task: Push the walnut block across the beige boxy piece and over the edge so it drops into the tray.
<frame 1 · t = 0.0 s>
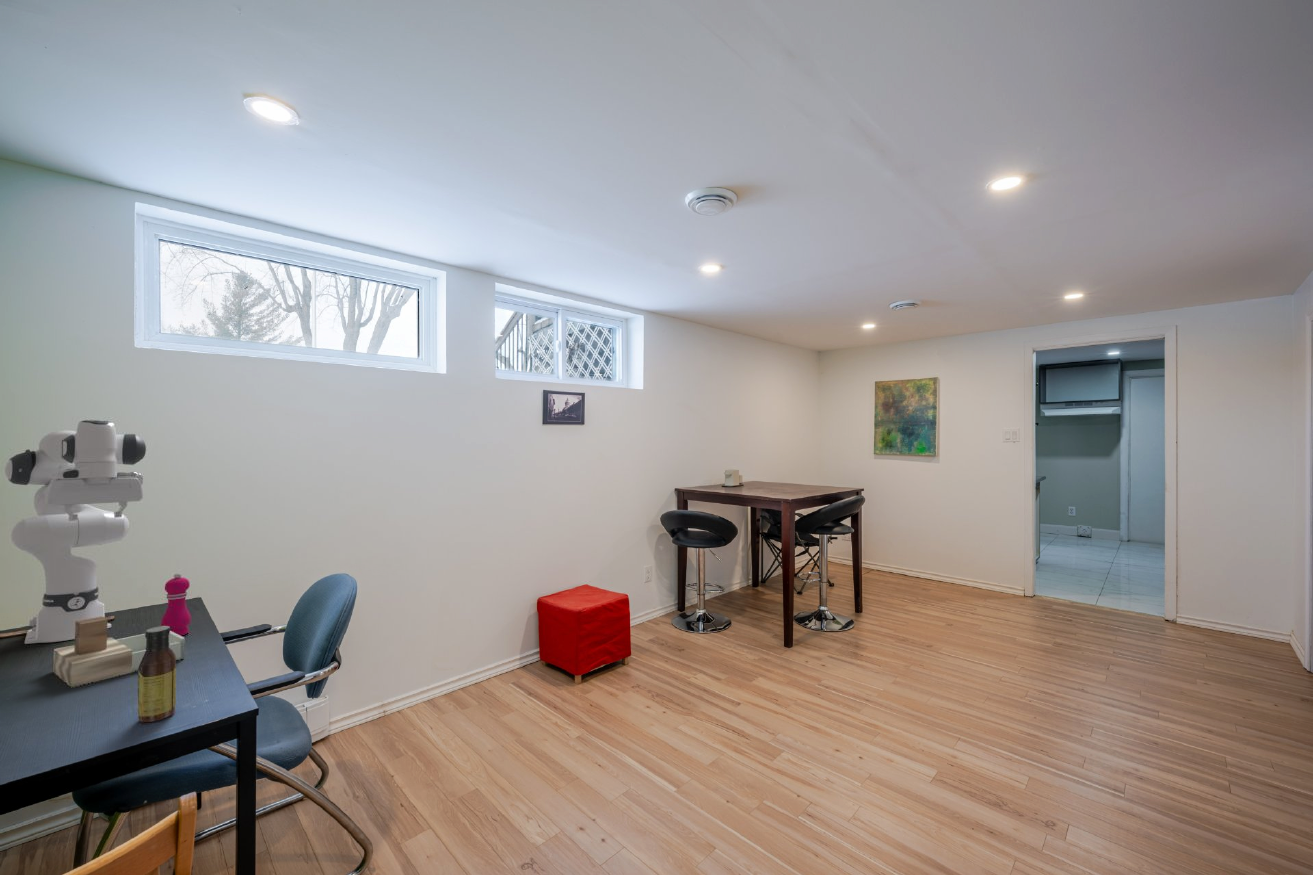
hand: (96, 519, 159), 39 cm above the table, tool pointing down, fingers open, 8 cm apart
walnut block: (90, 650, 142), point 6 cm above the table, touching beige boxy piece
sauce bottle: (156, 718, 118), on the table
tray: (147, 658, 151), on the table
beige boxy piece: (92, 672, 142), on the table
pepper mill: (175, 636, 171), on the table
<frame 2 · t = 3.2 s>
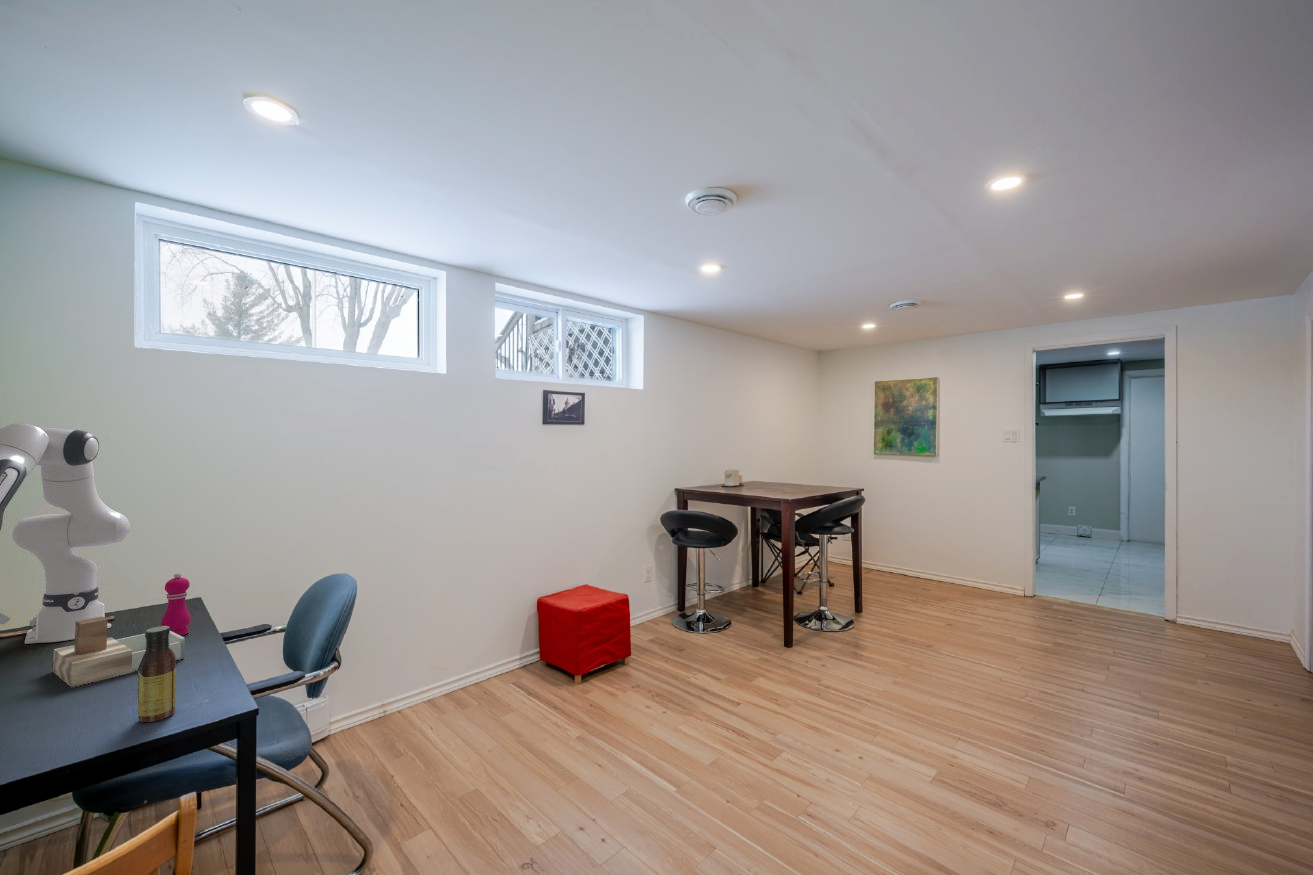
hand: (6, 621, 130), 18 cm above the table, tool tilted 45°, fingers closed
nothing on the table moved.
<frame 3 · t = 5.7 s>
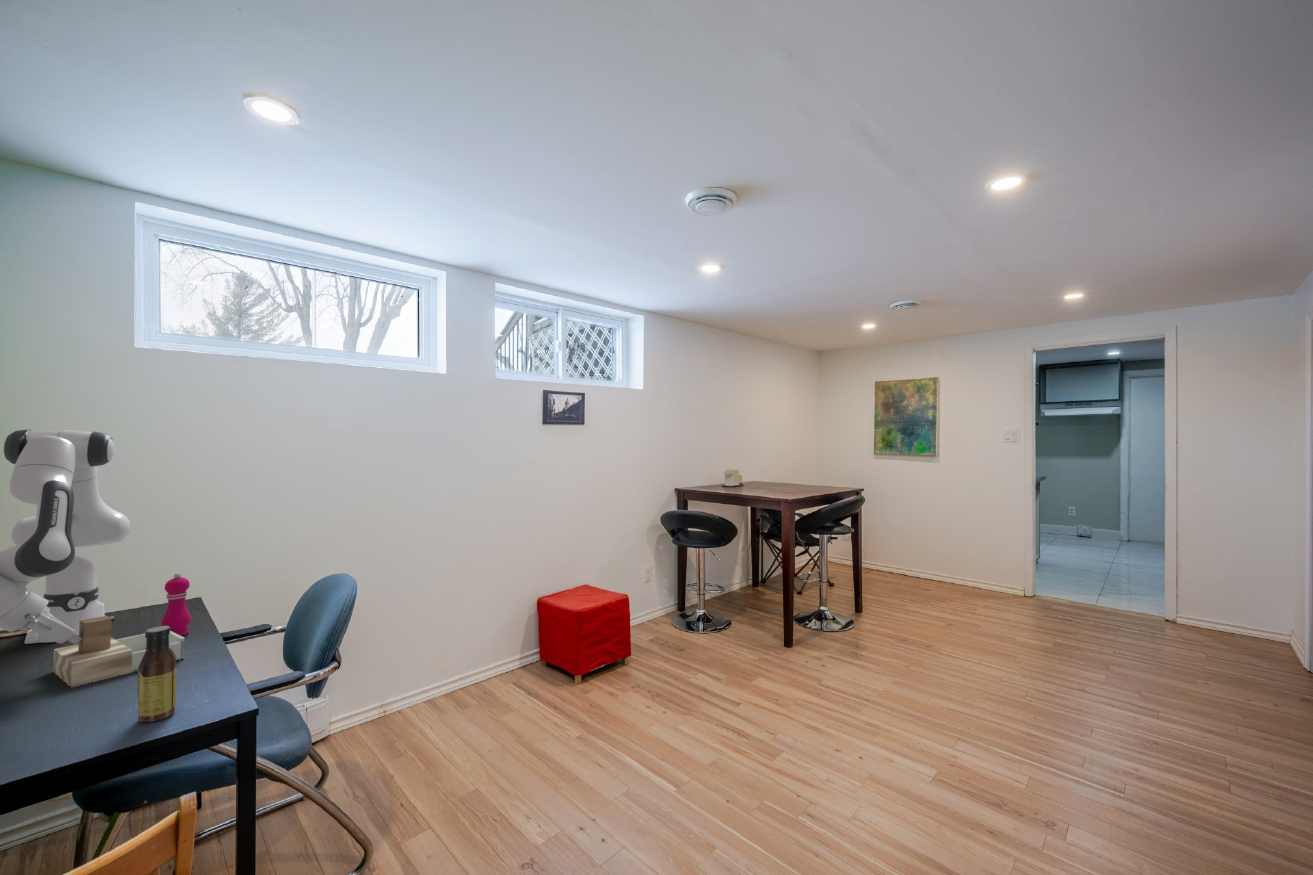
hand: (77, 640, 140), 9 cm above the table, tool tilted 45°, fingers closed, pressing on walnut block
walnut block: (94, 649, 142), point 6 cm above the table, touching gripper
everything else where it was.
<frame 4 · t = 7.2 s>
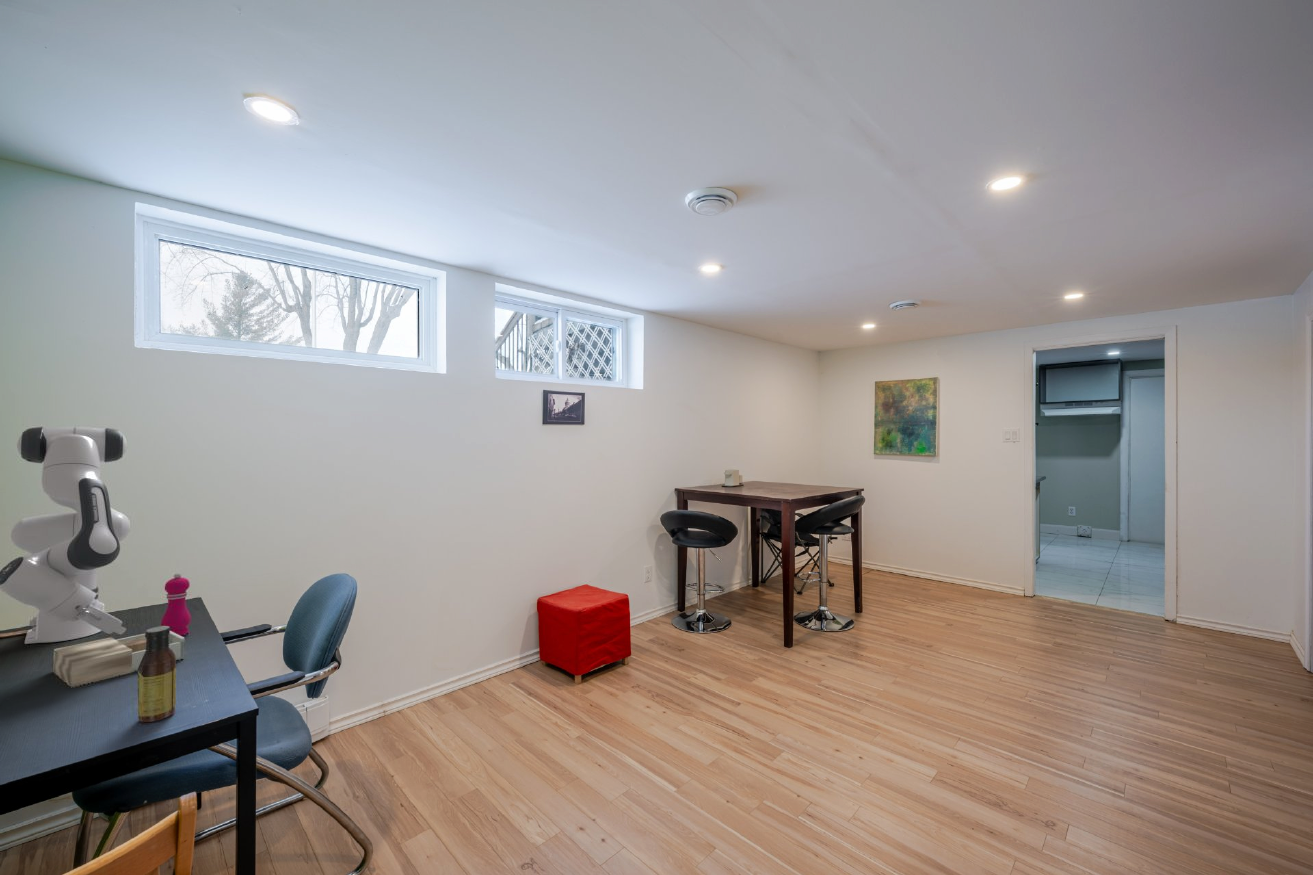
hand: (122, 631, 147), 9 cm above the table, tool tilted 45°, fingers closed
walnut block: (122, 653, 147), point 3 cm above the table, tilted 90°, touching tray
everything else where it was.
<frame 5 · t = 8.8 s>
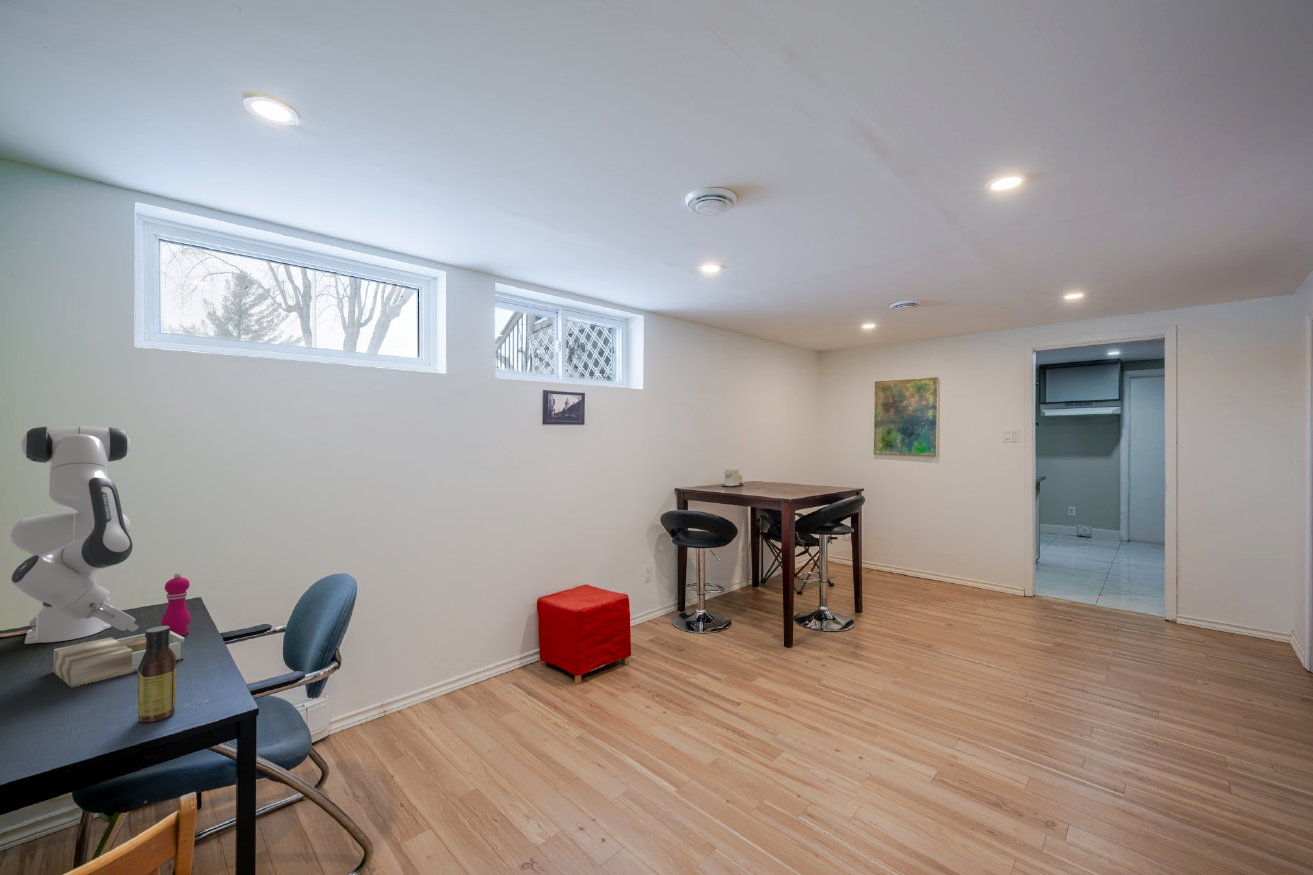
hand: (134, 628, 149), 9 cm above the table, tool tilted 45°, fingers closed
nothing on the table moved.
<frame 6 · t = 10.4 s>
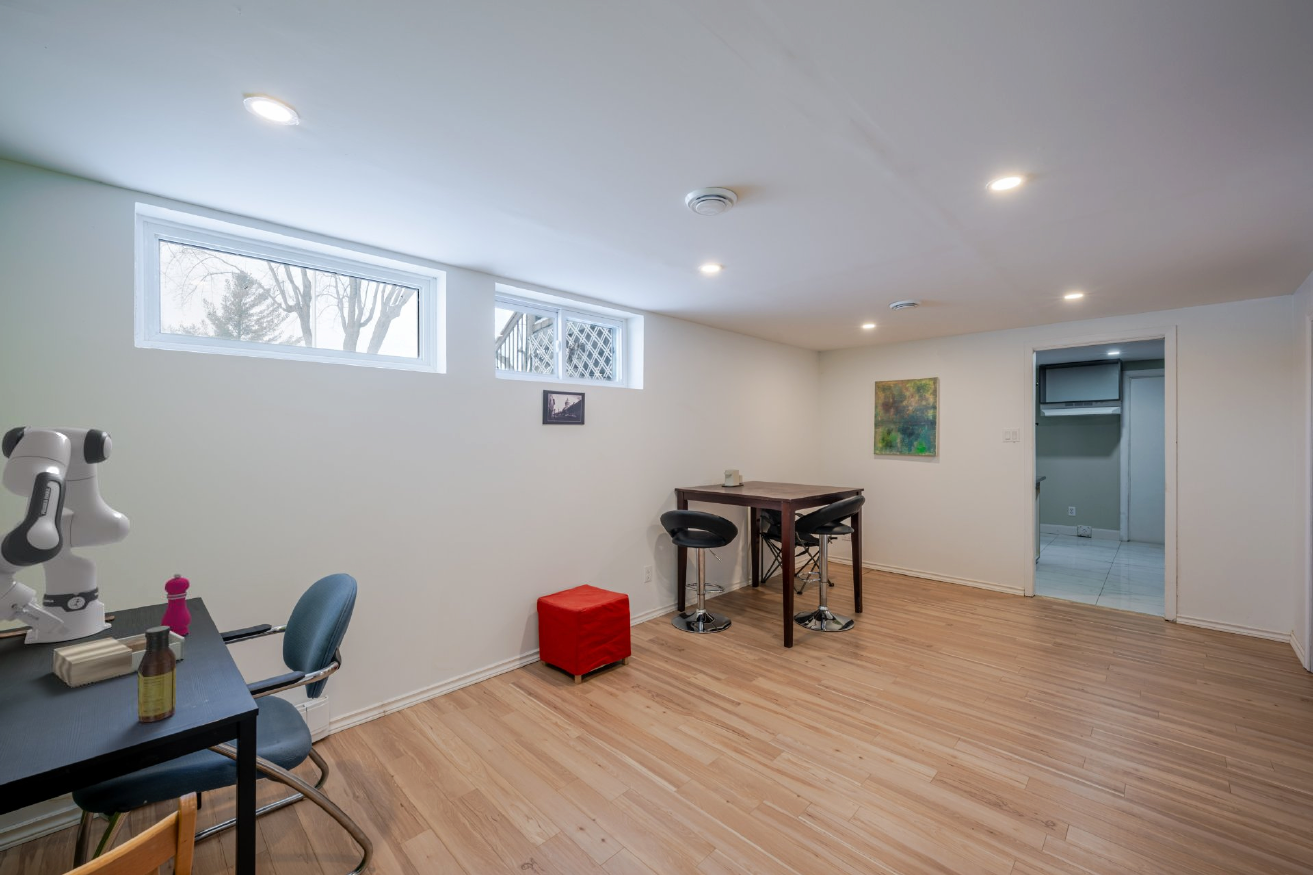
hand: (66, 631, 138), 12 cm above the table, tool tilted 45°, fingers closed
nothing on the table moved.
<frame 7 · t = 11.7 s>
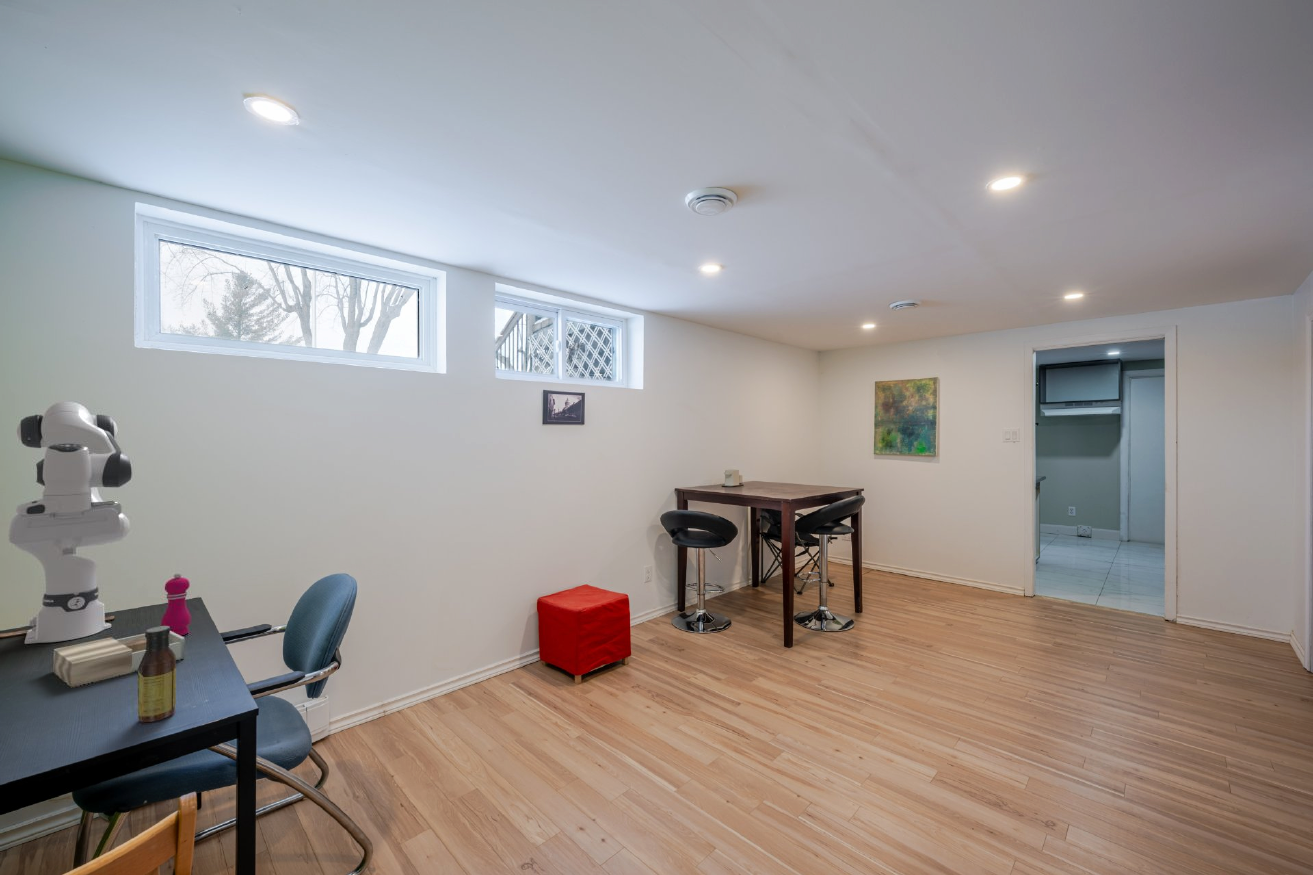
hand: (67, 554, 144), 31 cm above the table, tool pointing down, fingers closed
nothing on the table moved.
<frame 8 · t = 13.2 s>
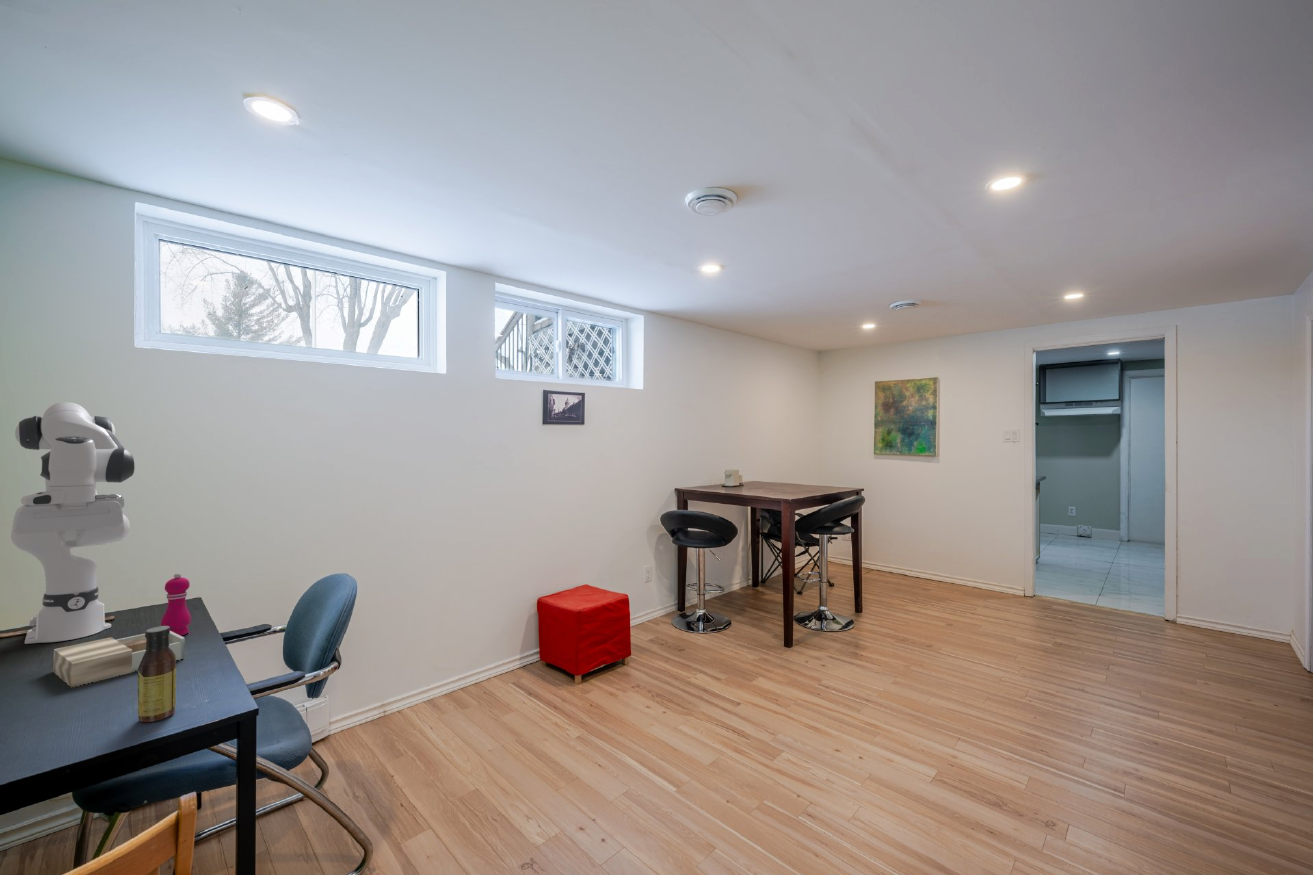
hand: (70, 547, 144), 33 cm above the table, tool pointing down, fingers closed
nothing on the table moved.
at the end: walnut block inside the target area (5.7 cm from its centre), point 3.1 cm above the table; walnut block point 3.1 cm above the table; walnut block moved 7.0 cm from its start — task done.
